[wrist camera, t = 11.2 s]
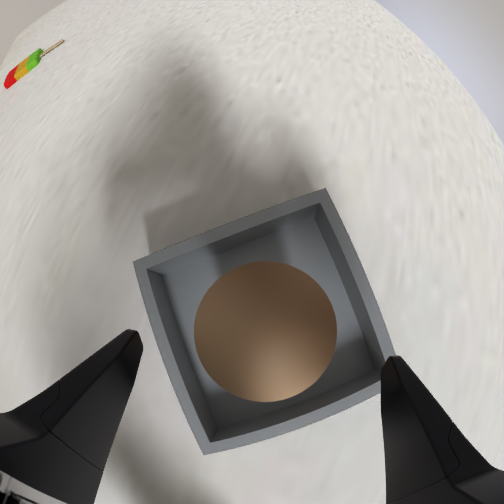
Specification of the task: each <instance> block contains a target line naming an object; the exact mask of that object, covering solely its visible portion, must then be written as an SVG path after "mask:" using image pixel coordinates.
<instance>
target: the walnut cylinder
mask: <svg viewBox="0 0 504 504" xmlns="http://www.w3.org/2000/svg"><path fill="white" fill-rule="evenodd" d="M336 341H337V322H336V316H335V312H334V309H333V306H332V304H331V302H330V300H329V298H328V296H327V294H326V293H325V291H324V290H323V289H322V287H321V286H320V285H319V284H318V283H317V282H316V281H315V280H314V279H313V278H312V277H310V276H309V275H308V274H306V273H305V272H303V271H301V270H299V269H297V268H295V267H293V266H290V265H287V264H284V263H279V262H271V261H261V262H253V263H248V264H245V265H241V266H239V267H236V268H234V269H232V270H230V271H229V272H227V273H225V274H224V275H222V276H221V277H220V278H219V279H218V280H216V281H215V282H214V283H213V285H212V286H211V287H210V288H209V289H208V291H207V292H206V293H205V295H204V296H203V298H202V300H201V302H200V304H199V307H198V310H197V312H196V317H195V321H194V342H195V348H196V351H197V354H198V357H199V359H200V362H201V364H202V366H203V367H204V369H205V370H206V372H207V373H208V375H209V376H210V377H211V378H212V379H213V380H214V381H215V382H216V383H217V384H218V385H219V386H220V387H222V388H223V389H225V390H226V391H227V392H229V393H231V394H233V395H235V396H237V397H240V398H243V399H246V400H251V401H258V402H273V401H279V400H284V399H287V398H290V397H293V396H295V395H297V394H299V393H301V392H303V391H304V390H306V389H307V388H309V387H310V386H311V385H312V384H313V383H315V382H316V381H317V380H318V378H319V377H320V376H321V375H322V374H323V372H324V371H325V370H326V368H327V366H328V365H329V363H330V361H331V359H332V356H333V353H334V350H335V346H336Z"/></svg>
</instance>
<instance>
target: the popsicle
mask: <svg viewBox="0 0 504 504" xmlns="http://www.w3.org/2000/svg"><path fill="white" fill-rule="evenodd" d="M63 41H64V40H63V39H62V40H61V41H59V42H58V43H56V44H55V45H53V46H52V47H50V48H49V49H47V50H46V51H45V52H43V51H42V50H41V49H38V50H36V51H35V52H34V53H32V54H31V55H30V56H28V57H27V58H26V59H25V60H23V61H22V62H21V63H20V64H18V65H17V66H16V67H15V68H14V69H12V70H11V71H10V72H9V73H8V75H7V77H6V79H5V82H4V87H5V88H6V89H8V88H9V87H10V86H12V85H13V84H14V83H15V82H16V81H18V80H19V79H20V78H21V77H23V76H24V75H25V74H26V73H28V72H29V71H30V70H31V69H33V68H34V67H35V66H37V65H38V64H39V62H40V59H41V56H43V55H44V54H46V53H47V52H49V51H50V50H51V49H53V48H54V47H56V46H57V45H59V44H60V43H62V42H63Z"/></svg>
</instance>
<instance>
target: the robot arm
mask: <svg viewBox="0 0 504 504" xmlns="http://www.w3.org/2000/svg"><path fill="white" fill-rule="evenodd" d="M142 352H143V344H142V341H141V338H140V335H139V333H138V332H137V331H135V330H131V329H127V330H125V331H124V332H122V333H121V334H120V335H118V336H117V337H116V338H114V339H113V340H112V341H110V342H109V343H108V344H106V345H105V346H104V347H102V348H101V349H100V350H98V351H97V352H95V353H94V354H93V355H91V356H90V357H89V358H87V359H86V360H85V361H83V362H82V363H81V364H79V365H78V366H77V367H75V368H74V369H73V370H71V371H70V372H69V373H67V374H66V375H65V376H63V377H62V378H61V379H60V380H58V381H57V382H55V383H54V384H53V385H51V386H50V387H49V388H47V389H46V390H44V391H43V392H41V393H40V394H38V395H37V396H35V397H34V398H32V399H30V400H29V401H27V402H25V403H24V404H22V405H20V406H19V407H17V408H15V409H13V410H12V411H9V412H6V413H0V504H94V501H95V498H96V494H97V491H98V488H99V484H100V481H101V478H102V475H103V471H104V468H105V465H106V462H107V458H108V455H109V452H110V449H111V446H112V444H113V441H114V438H115V435H116V432H117V429H118V426H119V423H120V421H121V418H122V415H123V412H124V410H125V407H126V404H127V402H128V399H129V396H130V394H131V391H132V388H133V385H134V382H135V378H136V375H137V371H138V367H139V363H140V360H141V356H142ZM380 378H381V417H382V427H383V439H384V452H385V471H386V504H504V471H502V470H499V469H497V468H495V467H493V466H492V465H490V464H489V463H488V462H487V461H486V460H485V459H484V457H483V456H482V455H481V454H480V453H479V452H478V451H477V450H476V449H475V448H474V447H473V446H472V444H471V443H470V442H469V441H468V440H467V439H466V438H465V436H464V435H463V434H462V433H461V431H460V430H459V429H458V428H457V426H456V425H455V424H454V422H452V420H451V419H450V417H449V416H448V415H447V413H446V412H445V411H444V409H443V408H442V407H441V406H440V404H439V403H438V402H437V400H436V399H435V398H434V397H433V395H432V394H431V393H430V392H429V390H428V389H427V388H426V387H425V385H424V384H423V383H422V382H421V380H420V379H419V378H418V377H417V376H416V374H415V373H414V372H413V371H412V369H411V368H410V367H409V366H408V365H407V363H406V362H405V361H404V360H403V359H402V357H400V356H398V355H397V356H389V357H388V359H387V360H386V362H385V364H384V366H383V367H382V369H381V374H380Z"/></svg>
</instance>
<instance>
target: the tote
mask: <svg viewBox="0 0 504 504" xmlns="http://www.w3.org/2000/svg"><path fill="white" fill-rule="evenodd" d="M261 261H271V262H279V263H284V264H287V265H290V266H293V267H295V268H297V269H299V270H301V271H303V272H305V273H306V274H308V275H309V276H310V277H312V278H313V279H314V280H315V281H316V282H317V283H318V284H319V285H320V286H321V287H322V289H323V290H324V291H325V293H326V294H327V296H328V298H329V300H330V302H331V304H332V306H333V309H334V312H335V316H336V322H337V341H336V346H335V350H334V353H333V356H332V359H331V361H330V363H329V365H328V366H327V368H326V370H325V371H324V372H323V374H322V375H321V376H320V377H319V378H318V380H317V381H316V382H315V383H313V384H312V385H311V386H310V387H309V388H307V389H306V390H304V391H303V392H301V393H299V394H297V395H295V396H293V397H290V398H287V399H284V400H279V401H273V402H258V401H251V400H246V399H243V398H240V397H237V396H235V395H233V394H231V393H229V392H227V391H226V390H225V389H223V388H222V387H220V386H219V385H218V384H217V383H216V382H215V381H214V380H213V379H212V378H211V377H210V376H209V375H208V373H207V372H206V370H205V369H204V367H203V366H202V364H201V362H200V359H199V357H198V354H197V351H196V348H195V342H194V321H195V317H196V312H197V310H198V307H199V304H200V302H201V300H202V298H203V296H204V295H205V293H206V292H207V291H208V289H209V288H210V287H211V286H212V285H213V283H214V282H215V281H216V280H218V279H219V278H220V277H221V276H222V275H224V274H225V273H227V272H229V271H230V270H232V269H234V268H236V267H239V266H241V265H245V264H248V263H253V262H261ZM133 264H134V268H135V272H136V276H137V279H138V283H139V287H140V290H141V294H142V298H143V301H144V304H145V308H146V311H147V314H148V318H149V321H150V324H151V327H152V330H153V333H154V336H155V339H156V342H157V345H158V348H159V351H160V354H161V356H162V359H163V362H164V365H165V367H166V370H167V373H168V375H169V378H170V381H171V383H172V386H173V388H174V391H175V393H176V396H177V398H178V400H179V403H180V405H181V407H182V410H183V412H184V414H185V417H186V419H187V421H188V423H189V426H190V428H191V430H192V432H193V434H194V436H195V439H196V441H197V443H198V445H199V447H200V449H201V451H202V453H203V455H207V454H212V453H216V452H221V451H225V450H229V449H233V448H237V447H241V446H245V445H249V444H252V443H256V442H259V441H263V440H266V439H269V438H273V437H276V436H279V435H282V434H285V433H288V432H291V431H294V430H296V429H299V428H302V427H305V426H307V425H310V424H312V423H315V422H318V421H320V420H323V419H325V418H327V417H330V416H332V415H335V414H337V413H339V412H341V411H344V410H346V409H348V408H350V407H352V406H355V405H357V404H359V403H361V402H363V401H365V400H367V399H369V398H371V397H373V396H375V395H377V394H379V393H381V378H380V374H381V369H382V367H383V366H384V364H385V362H386V360H387V359H388V357H389V356H396V354H395V351H394V348H393V345H392V342H391V339H390V337H389V334H388V331H387V328H386V325H385V323H384V320H383V317H382V314H381V312H380V309H379V306H378V304H377V301H376V299H375V296H374V294H373V291H372V289H371V286H370V284H369V281H368V279H367V276H366V274H365V271H364V269H363V267H362V264H361V262H360V260H359V257H358V255H357V253H356V251H355V248H354V246H353V244H352V242H351V239H350V237H349V235H348V233H347V231H346V229H345V226H344V224H343V222H342V220H341V218H340V216H339V214H338V212H337V210H336V208H335V206H334V204H333V202H332V200H331V198H330V196H329V194H328V192H327V190H326V188H324V189H321V190H318V191H316V192H313V193H310V194H307V195H304V196H301V197H299V198H296V199H293V200H290V201H287V202H285V203H282V204H279V205H276V206H274V207H271V208H268V209H265V210H263V211H260V212H257V213H255V214H252V215H249V216H247V217H244V218H241V219H239V220H236V221H233V222H231V223H228V224H226V225H223V226H220V227H218V228H215V229H213V230H210V231H208V232H205V233H202V234H200V235H197V236H195V237H192V238H190V239H187V240H185V241H182V242H180V243H177V244H175V245H172V246H170V247H167V248H165V249H163V250H160V251H158V252H155V253H153V254H150V255H148V256H146V257H143V258H141V259H138V260H136V261H134V262H133Z"/></svg>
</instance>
